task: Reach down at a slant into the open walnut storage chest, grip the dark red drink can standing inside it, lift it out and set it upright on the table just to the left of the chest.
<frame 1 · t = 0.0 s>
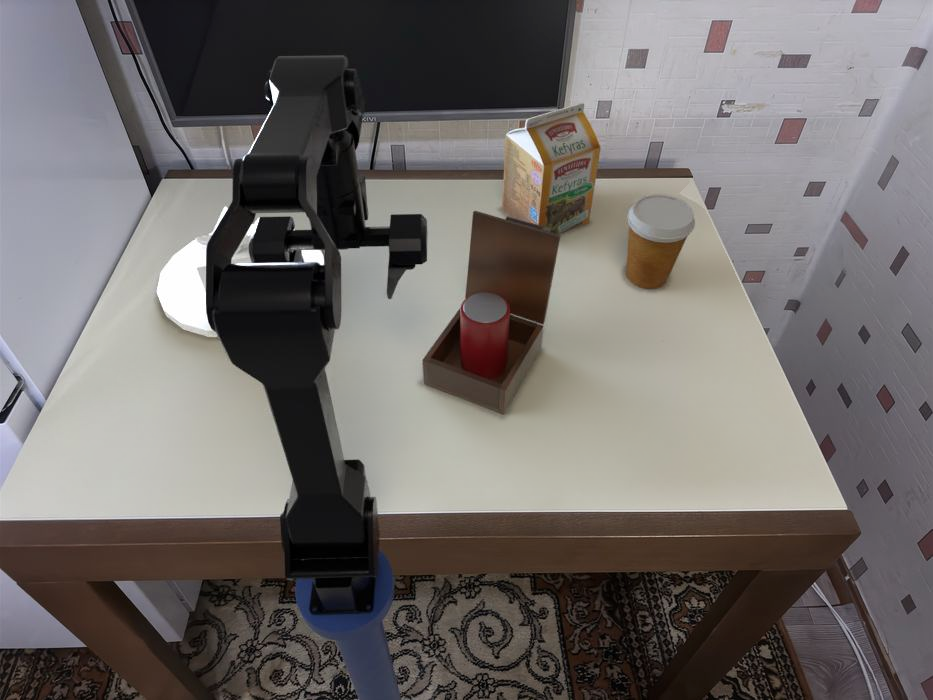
hand: (350, 297, 79), 15 cm above the table, tool pointing down, fingers open, 9 cm apart
milk carton: (544, 216, 115), on the table
can: (483, 362, 91), point 1 cm above the table, touching chest
disposable coffee cup: (646, 276, 104), on the table
chest lid: (515, 262, 89), point 11 cm above the table, hinge at 100.0°
dish: (244, 280, 104), on the table
chest: (483, 366, 91), on the table
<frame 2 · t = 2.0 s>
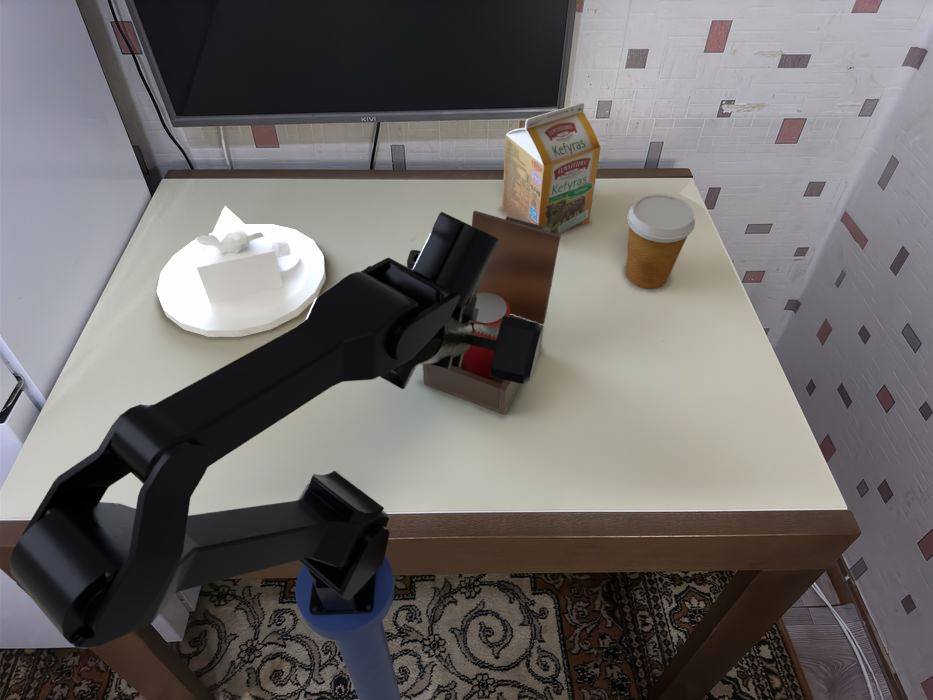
hand: (465, 335, 77), 13 cm above the table, tool tilted 45°, fingers open, 9 cm apart
nothing on the table moved.
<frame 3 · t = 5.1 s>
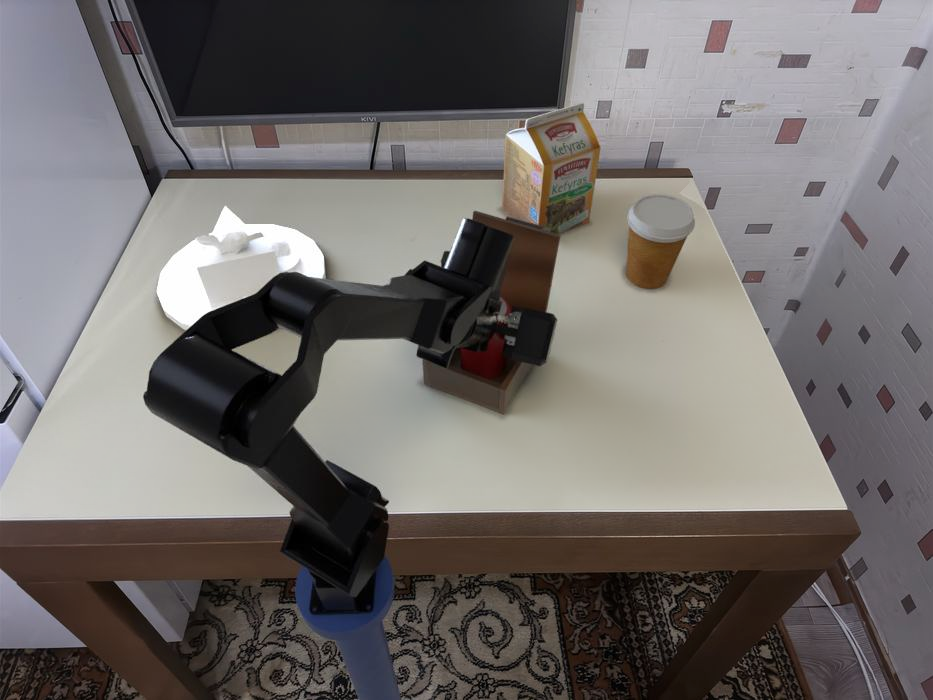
hand: (487, 325, 87), 7 cm above the table, tool tilted 45°, fingers closed on can, 6 cm apart
can: (483, 362, 91), point 1 cm above the table, touching chest, gripper
everything else where it was.
when the fingers open (6 cm above the table, at t = 11.1 s): can stays where it is, on the table.
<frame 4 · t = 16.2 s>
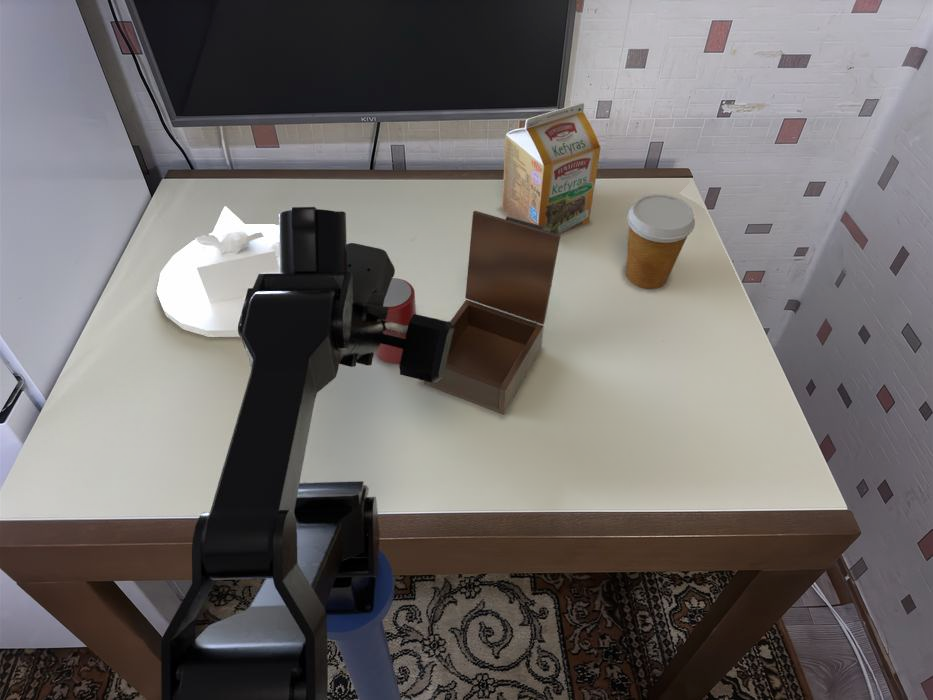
hand: (387, 333, 77), 14 cm above the table, tool tilted 45°, fingers open, 9 cm apart
can: (396, 346, 94), on the table
everything else where it was.
at the end: can inside the target area on the table beside the chest (0.5 cm from its centre), on the table; can tilted 0°; milk carton moved 0.2 cm from its start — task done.
